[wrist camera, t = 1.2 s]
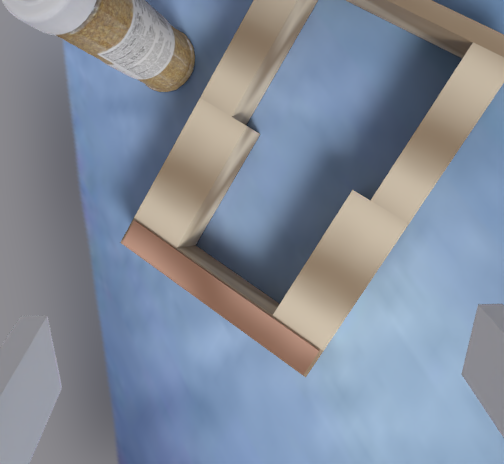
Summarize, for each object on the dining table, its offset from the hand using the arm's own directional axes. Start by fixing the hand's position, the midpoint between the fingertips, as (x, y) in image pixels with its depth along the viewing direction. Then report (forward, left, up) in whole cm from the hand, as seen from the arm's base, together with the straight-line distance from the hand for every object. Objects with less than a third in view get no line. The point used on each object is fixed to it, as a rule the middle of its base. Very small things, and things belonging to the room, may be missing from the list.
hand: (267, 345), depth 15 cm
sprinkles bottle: (-6, -18, -17) cm, 26 cm away
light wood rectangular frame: (-5, -6, -17) cm, 19 cm away
